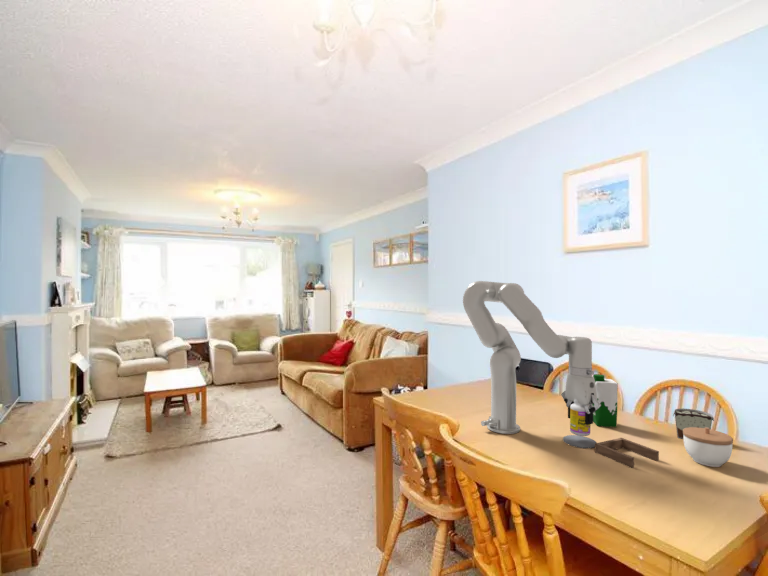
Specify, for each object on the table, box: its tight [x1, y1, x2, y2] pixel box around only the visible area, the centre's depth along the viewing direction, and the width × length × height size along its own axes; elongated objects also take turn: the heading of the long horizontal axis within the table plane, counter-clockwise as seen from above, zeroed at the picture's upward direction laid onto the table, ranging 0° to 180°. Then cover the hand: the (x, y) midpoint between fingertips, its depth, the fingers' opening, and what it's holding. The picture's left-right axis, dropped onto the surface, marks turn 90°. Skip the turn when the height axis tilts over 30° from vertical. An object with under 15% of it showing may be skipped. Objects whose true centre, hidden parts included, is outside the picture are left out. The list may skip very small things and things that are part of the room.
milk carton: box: [592, 373, 619, 428], centre depth 165 cm, size 9×9×20 cm
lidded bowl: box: [682, 427, 734, 468], centre depth 129 cm, size 13×13×11 cm
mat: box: [562, 434, 598, 450], centre depth 145 cm, size 11×11×1 cm
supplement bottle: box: [569, 399, 591, 437], centre depth 145 cm, size 7×7×13 cm
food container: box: [672, 408, 715, 440], centre depth 151 cm, size 12×6×10 cm, turn 65°
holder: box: [594, 437, 660, 469], centre depth 133 cm, size 13×13×3 cm
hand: (580, 420), depth 145 cm, fingers closed on supplement bottle, 6 cm apart
